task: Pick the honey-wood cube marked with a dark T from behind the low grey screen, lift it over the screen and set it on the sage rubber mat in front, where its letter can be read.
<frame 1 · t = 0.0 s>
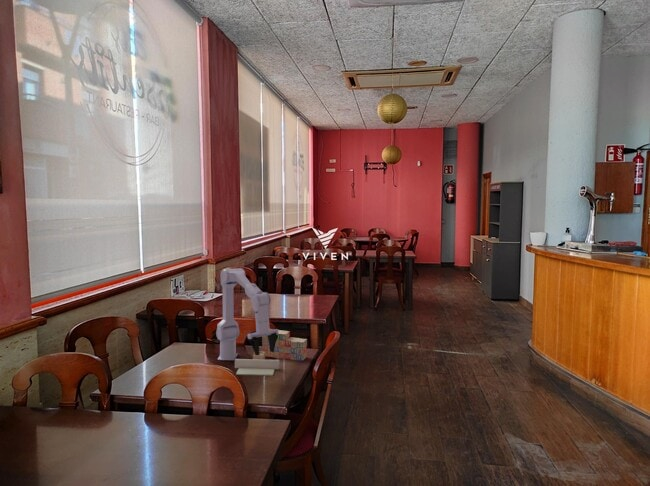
hand: (264, 353, 189), 11 cm above the table, tool pointing down, fingers open, 7 cm apart
stack of blocks: (284, 357, 218), on the table
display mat: (255, 372, 195), on the table
letter cube: (258, 363, 207), on the table
screen: (257, 368, 200), on the table
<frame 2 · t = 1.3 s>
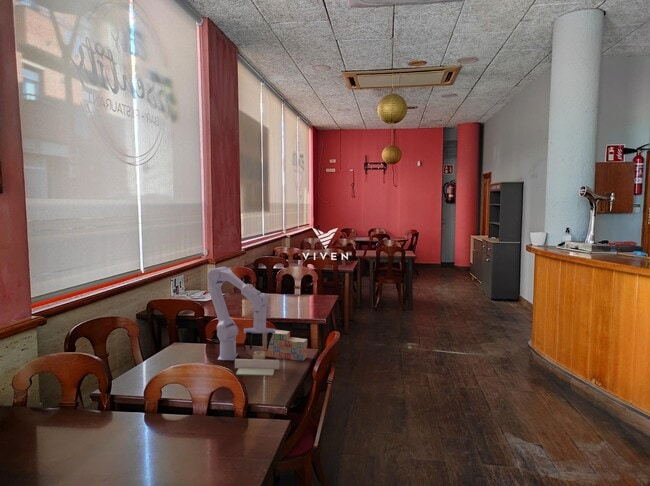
hand: (259, 348, 206), 7 cm above the table, tool pointing down, fingers open, 7 cm apart
nothing on the table moved.
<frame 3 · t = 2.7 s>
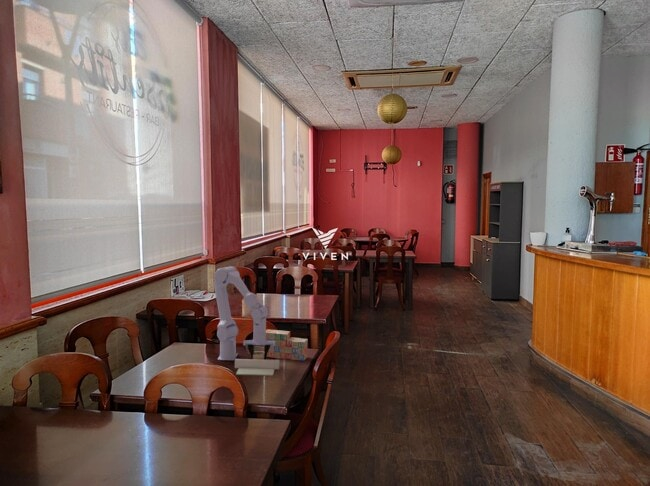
hand: (258, 360, 207), 1 cm above the table, tool pointing down, fingers closed on letter cube, 5 cm apart
letter cube: (258, 363, 207), on the table, touching gripper
everything else where it was.
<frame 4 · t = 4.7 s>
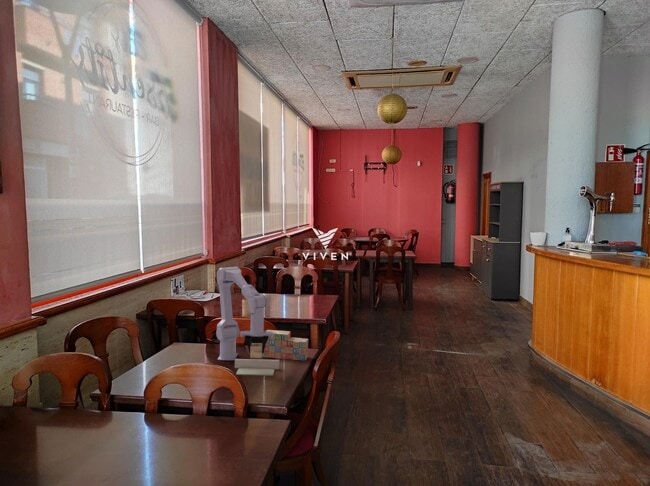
hand: (256, 352, 196), 8 cm above the table, tool pointing down, fingers closed on letter cube, 5 cm apart
letter cube: (256, 356, 197), point 7 cm above the table, touching gripper
everything else where it was.
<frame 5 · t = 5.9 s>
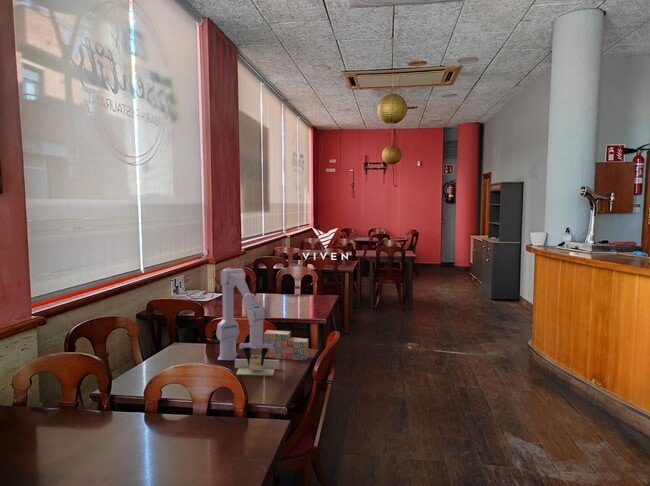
hand: (255, 364, 195), 3 cm above the table, tool pointing down, fingers closed on letter cube, 5 cm apart
letter cube: (255, 368, 196), point 2 cm above the table, touching gripper
when the fingers open (3 cm above the table, at t = 6.7 s): letter cube drops 1 cm, resting on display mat.
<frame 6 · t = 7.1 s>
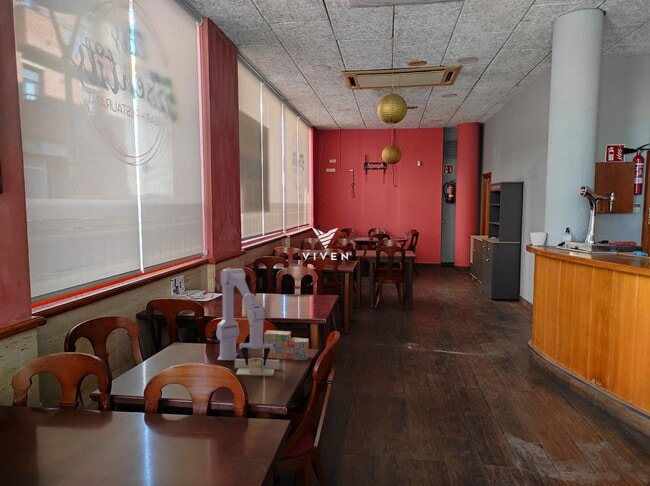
hand: (255, 364, 195), 3 cm above the table, tool pointing down, fingers open, 7 cm apart
letter cube: (255, 371, 196), resting on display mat
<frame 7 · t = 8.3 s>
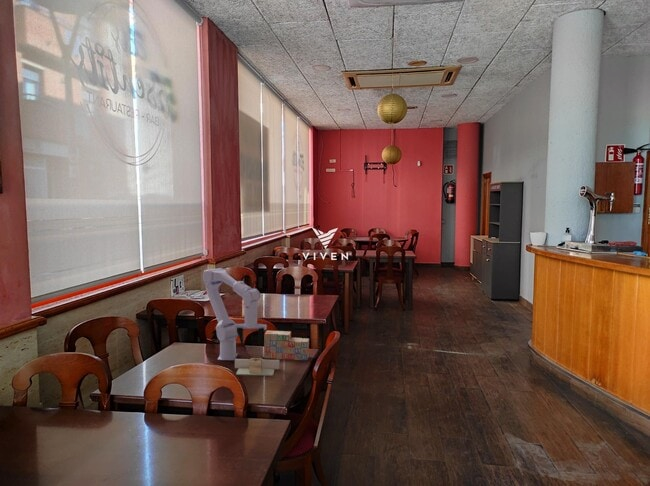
hand: (250, 344, 205), 9 cm above the table, tool pointing down, fingers open, 7 cm apart
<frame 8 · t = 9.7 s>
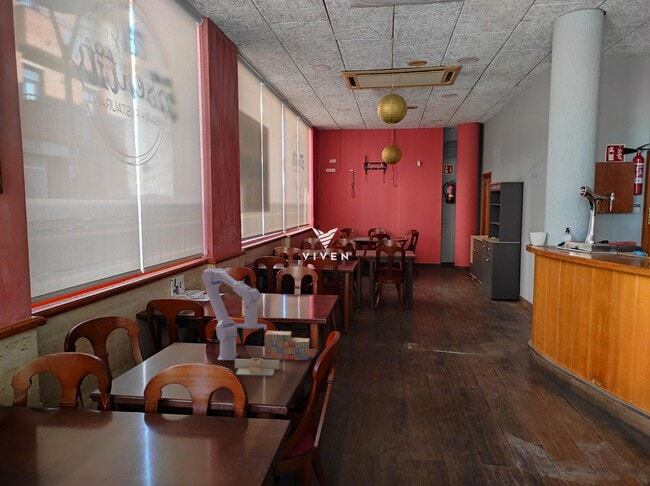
hand: (250, 344, 205), 9 cm above the table, tool pointing down, fingers open, 7 cm apart
at the end: letter cube inside the target area (0.3 cm from its centre), point 0.5 cm above the table; letter cube tilted 0°; the gripper is holding nothing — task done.
